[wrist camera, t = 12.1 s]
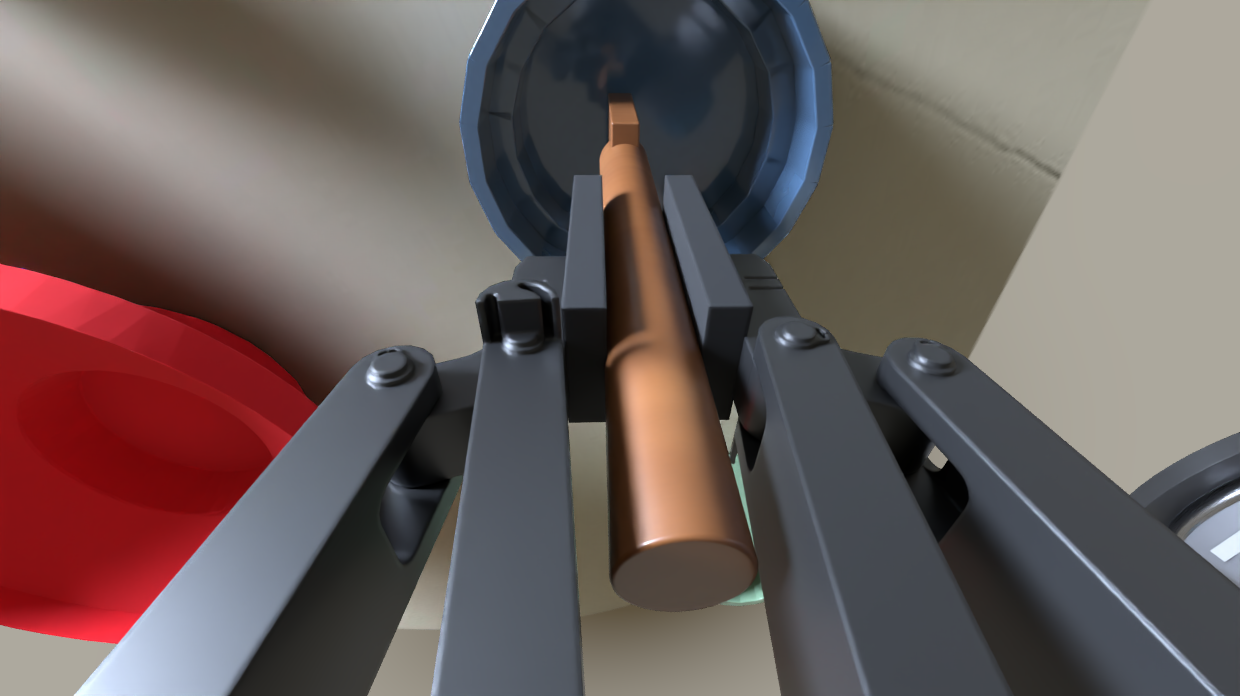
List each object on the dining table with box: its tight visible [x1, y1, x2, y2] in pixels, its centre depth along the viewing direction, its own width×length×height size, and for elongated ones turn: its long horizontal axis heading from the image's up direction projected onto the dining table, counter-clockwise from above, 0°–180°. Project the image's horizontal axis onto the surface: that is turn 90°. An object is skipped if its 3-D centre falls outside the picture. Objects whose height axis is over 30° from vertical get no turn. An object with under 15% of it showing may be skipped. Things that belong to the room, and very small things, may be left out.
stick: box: [600, 93, 758, 612], centre depth 14 cm, size 2×3×20 cm, turn 179°
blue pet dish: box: [459, 0, 834, 261], centre depth 22 cm, size 14×14×6 cm
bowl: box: [0, 264, 318, 644], centre depth 30 cm, size 30×30×10 cm
